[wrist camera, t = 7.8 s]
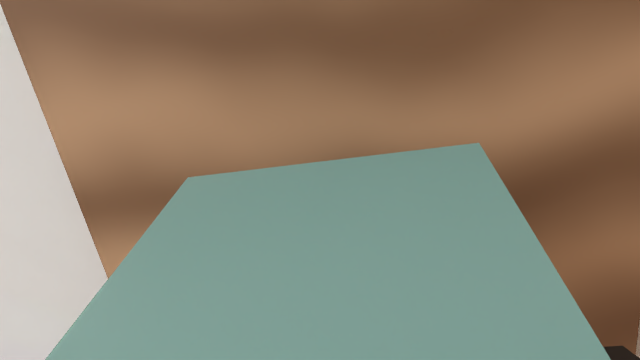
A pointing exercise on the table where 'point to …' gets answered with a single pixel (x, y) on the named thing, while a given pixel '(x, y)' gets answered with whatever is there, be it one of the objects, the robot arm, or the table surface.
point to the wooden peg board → (354, 108)
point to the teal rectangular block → (338, 270)
